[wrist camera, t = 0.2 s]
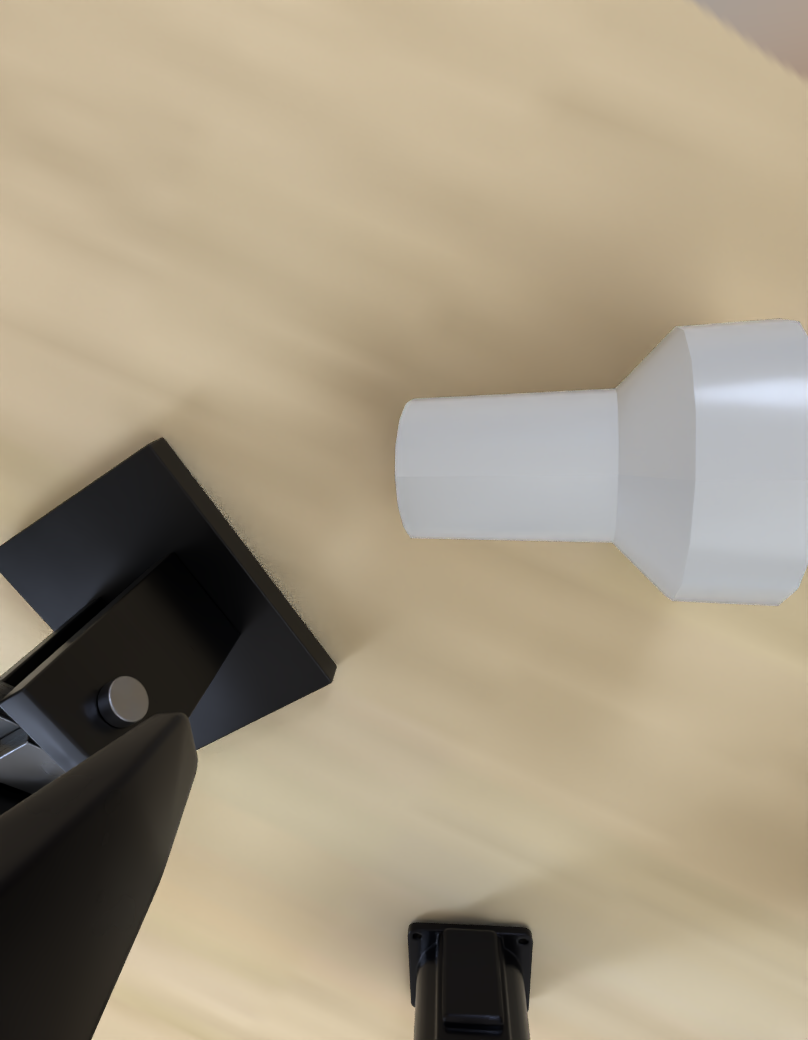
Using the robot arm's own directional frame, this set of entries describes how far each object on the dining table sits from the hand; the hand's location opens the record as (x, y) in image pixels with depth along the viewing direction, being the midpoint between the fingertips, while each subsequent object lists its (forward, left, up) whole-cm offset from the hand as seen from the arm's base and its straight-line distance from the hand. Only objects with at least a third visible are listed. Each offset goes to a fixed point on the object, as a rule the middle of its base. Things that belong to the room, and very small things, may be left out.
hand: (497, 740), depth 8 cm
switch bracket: (-6, +12, -15) cm, 20 cm away
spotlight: (+1, -4, -15) cm, 15 cm away
